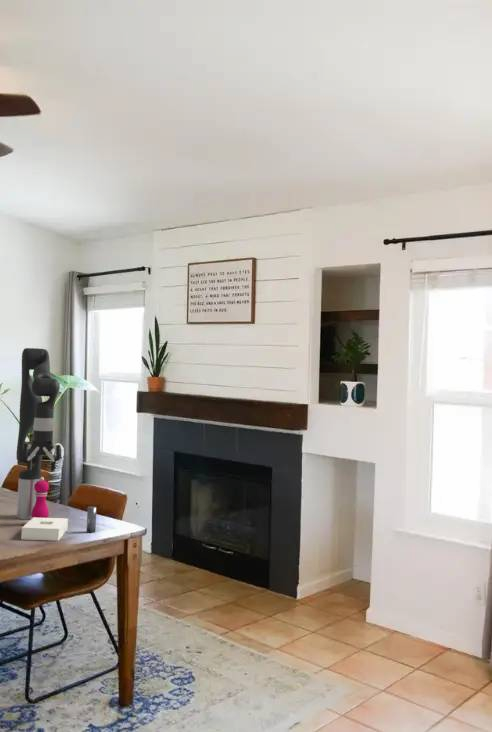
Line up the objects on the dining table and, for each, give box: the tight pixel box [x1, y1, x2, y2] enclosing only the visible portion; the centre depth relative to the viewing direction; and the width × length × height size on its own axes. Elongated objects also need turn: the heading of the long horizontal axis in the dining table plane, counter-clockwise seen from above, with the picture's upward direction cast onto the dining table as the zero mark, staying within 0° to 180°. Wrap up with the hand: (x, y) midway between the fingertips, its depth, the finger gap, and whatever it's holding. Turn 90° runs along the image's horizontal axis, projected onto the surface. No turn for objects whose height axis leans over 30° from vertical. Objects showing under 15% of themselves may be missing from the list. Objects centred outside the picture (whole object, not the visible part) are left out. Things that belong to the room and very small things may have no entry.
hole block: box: [20, 517, 69, 542], centre depth 285 cm, size 20×14×4 cm
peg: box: [85, 506, 98, 534], centre depth 294 cm, size 4×4×10 cm
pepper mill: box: [31, 476, 50, 518], centre depth 303 cm, size 7×7×20 cm
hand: (41, 470), depth 280 cm, fingers open, 8 cm apart
